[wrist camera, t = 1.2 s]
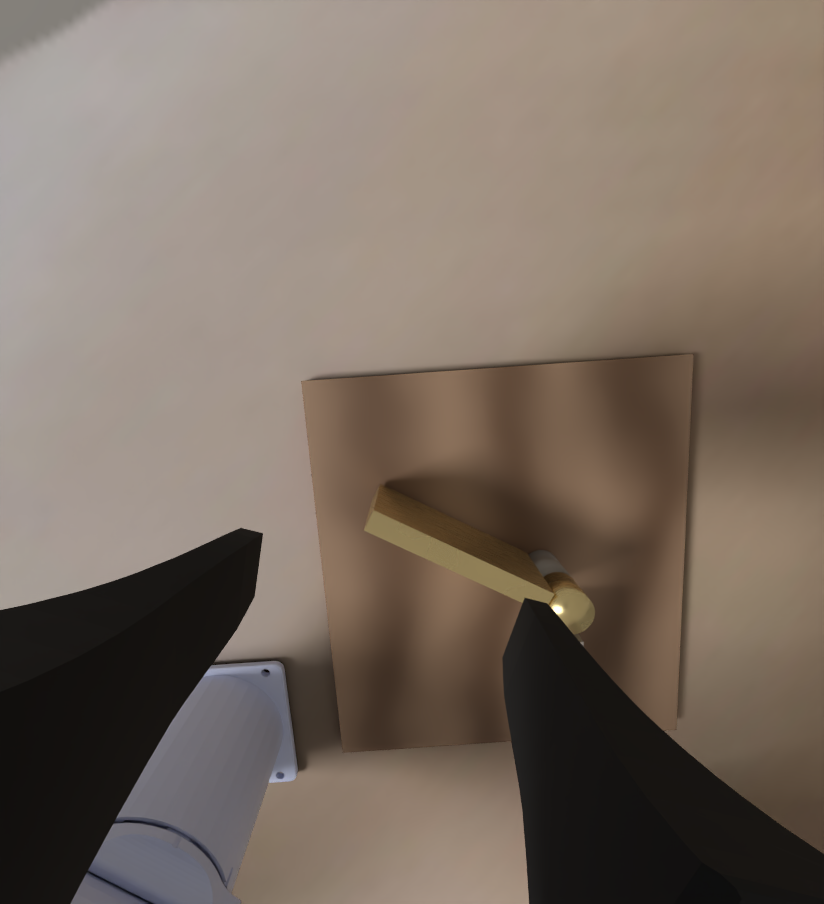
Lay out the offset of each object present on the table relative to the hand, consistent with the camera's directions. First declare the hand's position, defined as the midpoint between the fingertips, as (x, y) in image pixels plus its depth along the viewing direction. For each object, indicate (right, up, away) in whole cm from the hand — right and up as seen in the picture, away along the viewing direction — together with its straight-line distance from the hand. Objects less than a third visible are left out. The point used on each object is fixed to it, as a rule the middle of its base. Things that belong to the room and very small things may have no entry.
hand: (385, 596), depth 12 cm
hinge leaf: (+4, -1, +12) cm, 12 cm away
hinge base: (+6, -2, +13) cm, 15 cm away
